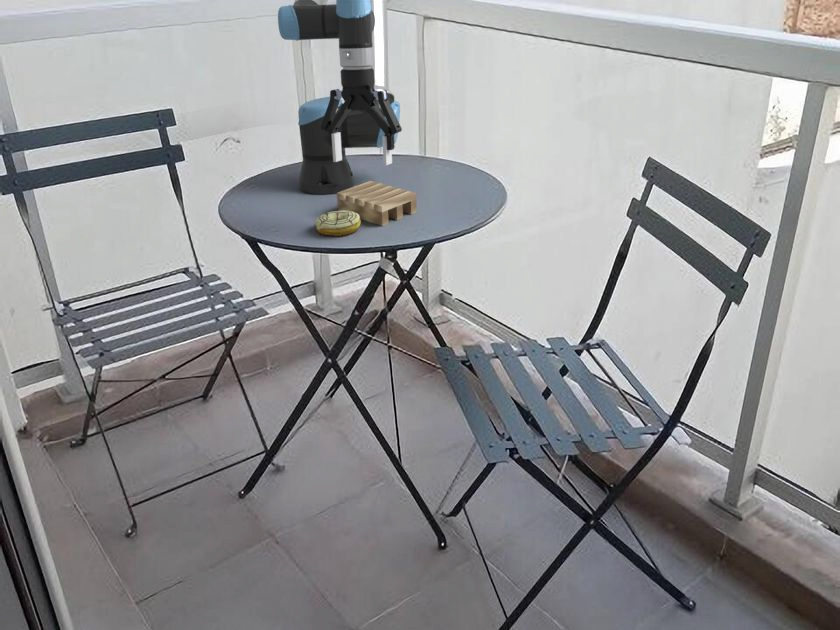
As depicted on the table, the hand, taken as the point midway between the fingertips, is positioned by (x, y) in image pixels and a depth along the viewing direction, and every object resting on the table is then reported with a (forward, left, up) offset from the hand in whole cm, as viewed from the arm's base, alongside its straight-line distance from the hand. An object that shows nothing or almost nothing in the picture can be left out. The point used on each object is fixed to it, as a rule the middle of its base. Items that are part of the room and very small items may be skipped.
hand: (362, 162), depth 190 cm
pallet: (-4, +8, -15) cm, 18 cm away
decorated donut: (-3, -6, -16) cm, 17 cm away
